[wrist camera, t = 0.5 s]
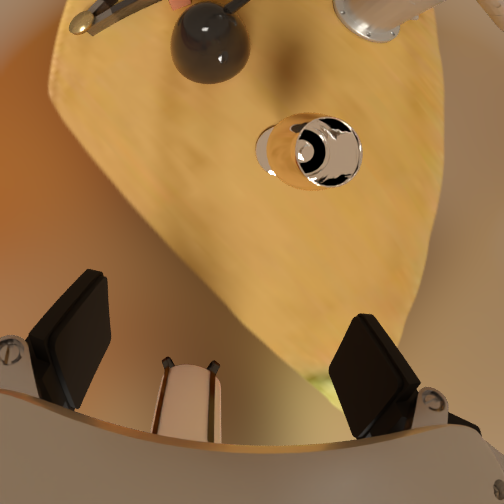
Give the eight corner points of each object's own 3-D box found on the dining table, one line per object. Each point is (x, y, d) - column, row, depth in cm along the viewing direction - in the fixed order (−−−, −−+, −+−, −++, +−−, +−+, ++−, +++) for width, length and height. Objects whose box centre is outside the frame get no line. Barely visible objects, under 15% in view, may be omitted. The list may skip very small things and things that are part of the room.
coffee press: (139, 370, 50) (106, 495, 22) (194, 339, 48) (177, 493, 20) (194, 411, 56) (188, 523, 28) (249, 387, 53) (263, 515, 25)
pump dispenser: (263, 65, 32) (282, 21, 18) (203, 103, 34) (188, 75, 20) (222, 20, 29) (221, -35, 15) (164, 57, 31) (133, 14, 16)
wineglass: (246, 134, 36) (264, 116, 18) (297, 119, 36) (359, 94, 17) (264, 184, 39) (298, 216, 20) (314, 168, 39) (384, 186, 20)
